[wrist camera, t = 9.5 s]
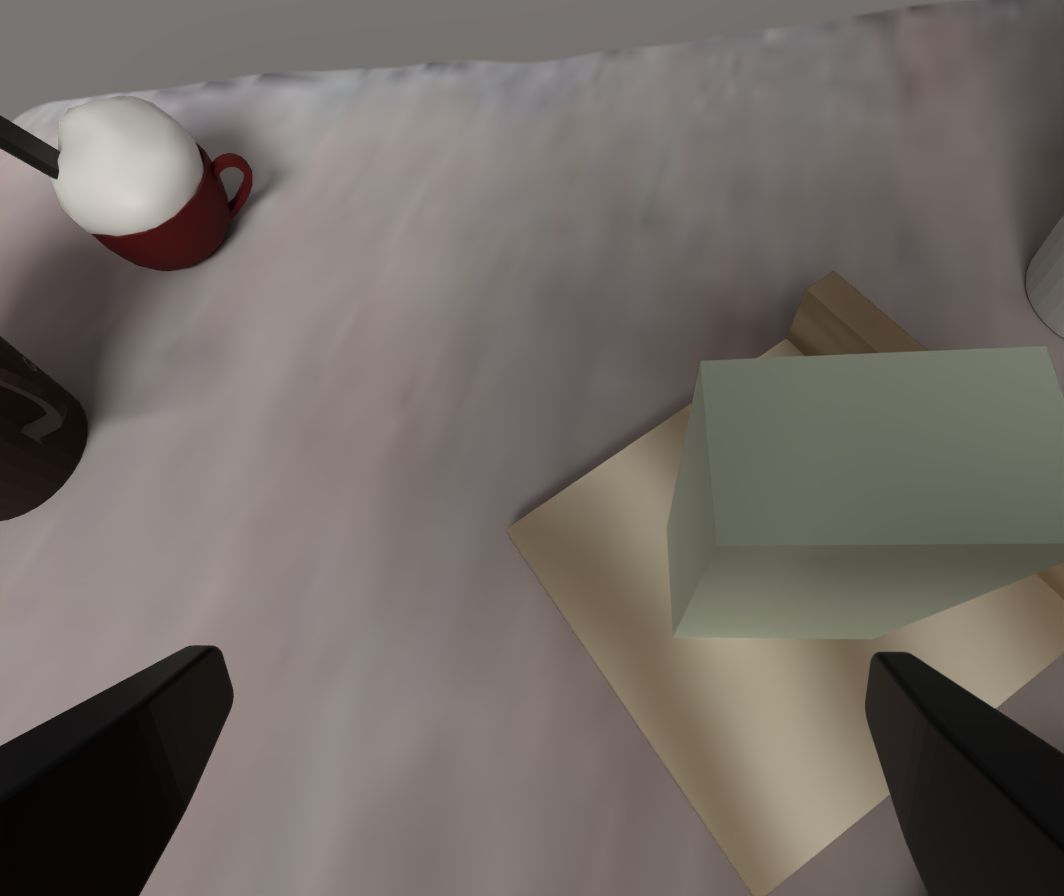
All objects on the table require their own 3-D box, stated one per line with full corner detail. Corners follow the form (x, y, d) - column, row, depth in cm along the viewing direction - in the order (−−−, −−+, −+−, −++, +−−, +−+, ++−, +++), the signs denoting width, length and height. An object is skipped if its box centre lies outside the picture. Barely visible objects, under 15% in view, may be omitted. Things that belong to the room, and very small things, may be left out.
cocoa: (283, 195, 33) (137, -77, 23) (251, 293, 31) (67, 38, 20) (112, 196, 34) (-107, -63, 24) (66, 291, 32) (-205, 47, 21)
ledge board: (751, 893, 19) (781, 931, 15) (509, 537, 24) (489, 501, 20) (1100, 610, 21) (1202, 583, 17) (804, 336, 26) (833, 270, 22)
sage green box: (871, 639, 20) (1112, 543, 10) (673, 637, 21) (717, 546, 11) (851, 523, 22) (1045, 340, 12) (666, 525, 22) (699, 356, 12)
